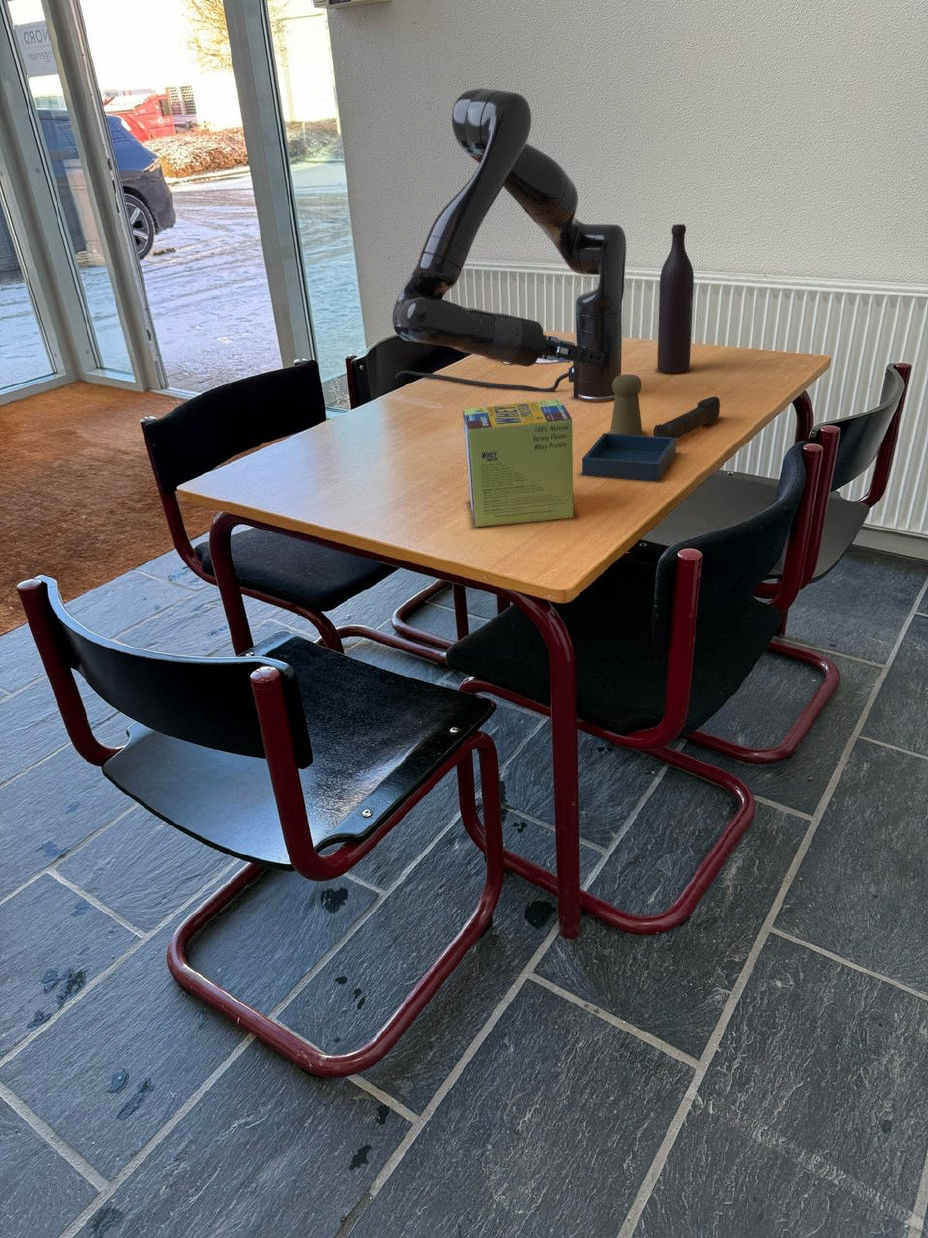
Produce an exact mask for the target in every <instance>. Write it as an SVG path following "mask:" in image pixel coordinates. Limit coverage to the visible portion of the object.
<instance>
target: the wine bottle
mask: <svg viewBox="0 0 928 1238" xmlns="http://www.w3.org/2000/svg"><path fill="white" fill-rule="evenodd" d="M686 233H687V227H686V224H685V223H684V224H683V223H682V224H681V223H680V224H673V225H672V227H671V237H672V239H671V247H670V251H669V254H668V255H667V258H666V260H665V261H664V264H663V266H662V268H661V272H660V277H659V293H658V294H659V297H658V298H659V300H658V330H657V332H658V333H657V363H656V364H657V366H656V367H657V371H658V372H660V373H662V374H668V375H678V374H683V373H686V372H688V371H689V370H690V368H691V349H692V331H693V330H692V328H693V308H694V305H693V304H694V285H695V279H694V278H695V276H694V269H693V268H694V267H693V265H692V262H691V260H690V257H689V256H688V253H687V251H686V244H685V240H686V239H685V237H686Z"/></svg>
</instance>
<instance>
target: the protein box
mask: <svg viewBox="0 0 928 1238" xmlns="http://www.w3.org/2000/svg"><path fill="white" fill-rule="evenodd" d="M462 416H463V417H462V418H463V428H464V430H463V431H464V442H465V453H466V454H465V455H466V465H467V467H466V468H467V481H468V494H469V504H470V509H471V514H472V519H473V524H474V527H475V528H479V527H481V528H482V527H489V526H490V527H491V526H501V525H502V526H503V525H512V524H523V523H531V522H541V521H551V520H561V519H572V518H574V517H575V514H574V513H575V511H574V510H575V509H574V507H575V506H574V505H575V504H574V456H573V452H574V451H573V450H574V449H573V418H572V416H571V415H570V413H569V412H568V410H567V408H566V407H565V405H564V403H563V401H562V399H559V398H558V399H557V398H556V399H555V398H554V399H547V400H540V401H530V402H529V401H528V402H518V403H509V404H507V403H506V404H500V405H491V406H481V407H470V408H464V409H462Z"/></svg>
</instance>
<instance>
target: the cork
mask: <svg viewBox="0 0 928 1238" xmlns="http://www.w3.org/2000/svg"><path fill="white" fill-rule="evenodd" d="M642 386H643V385H642V380H641V378H640V376H637V375H636V374H628V373H627V374H621V375H620V376H617V377H616V378H615V379H614V381H613V384H612V388H613V392H614V393H615V399H614V401H613V410H612V416H611V423H610V430H609V434H625V435H640V436H644V433H643V425H642V417H641V408H640V407H641V406H640V400H639V399H640V398H639V395H640V392H641V390H642Z"/></svg>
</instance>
